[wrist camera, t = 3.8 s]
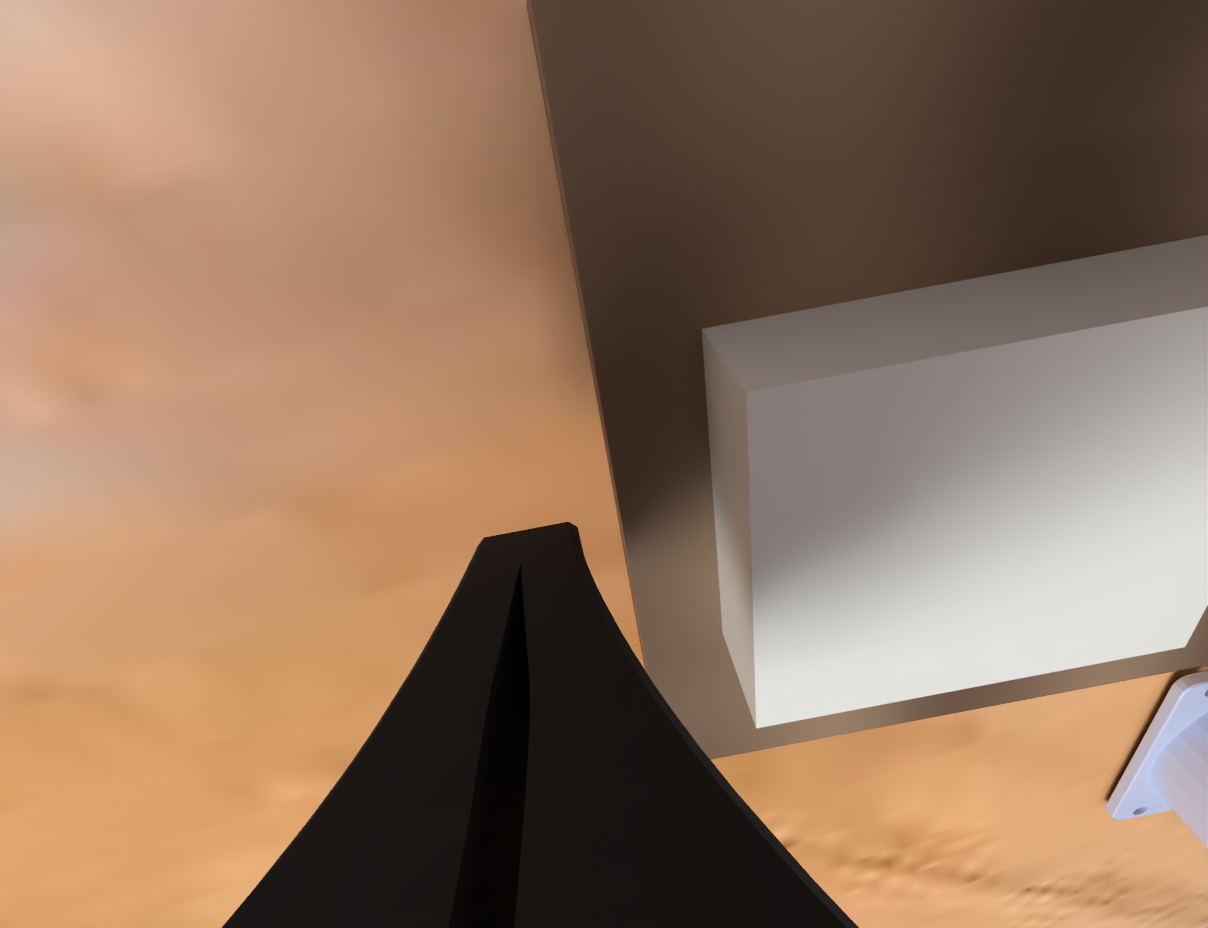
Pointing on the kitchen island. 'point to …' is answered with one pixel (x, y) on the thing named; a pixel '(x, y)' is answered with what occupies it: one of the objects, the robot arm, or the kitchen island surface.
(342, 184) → the kitchen island surface
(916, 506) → the tile
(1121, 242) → the board
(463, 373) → the kitchen island surface
